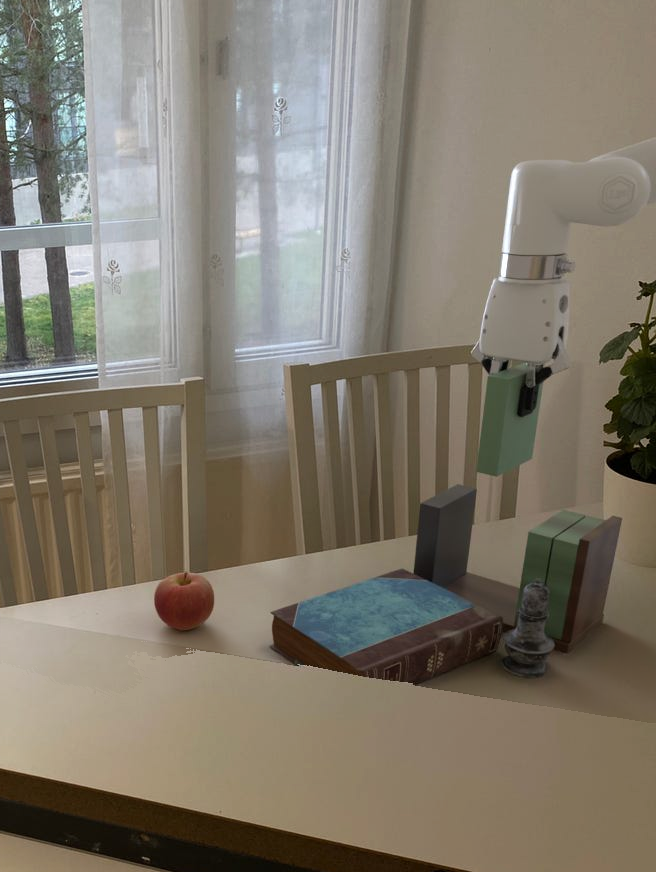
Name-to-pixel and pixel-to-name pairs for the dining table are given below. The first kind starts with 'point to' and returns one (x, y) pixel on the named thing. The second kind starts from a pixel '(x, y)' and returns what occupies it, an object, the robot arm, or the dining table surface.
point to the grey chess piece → (529, 635)
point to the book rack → (544, 557)
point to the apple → (184, 600)
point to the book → (386, 629)
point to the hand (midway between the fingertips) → (511, 411)
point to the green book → (506, 424)
